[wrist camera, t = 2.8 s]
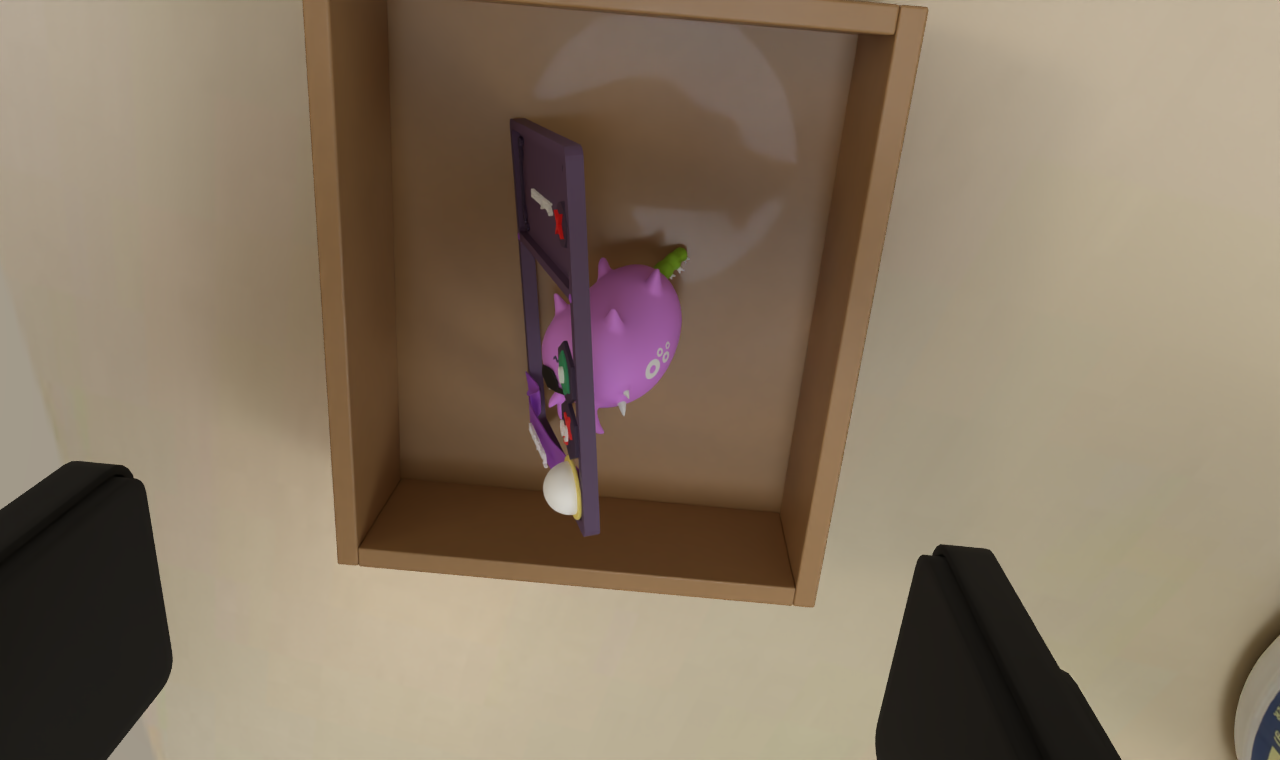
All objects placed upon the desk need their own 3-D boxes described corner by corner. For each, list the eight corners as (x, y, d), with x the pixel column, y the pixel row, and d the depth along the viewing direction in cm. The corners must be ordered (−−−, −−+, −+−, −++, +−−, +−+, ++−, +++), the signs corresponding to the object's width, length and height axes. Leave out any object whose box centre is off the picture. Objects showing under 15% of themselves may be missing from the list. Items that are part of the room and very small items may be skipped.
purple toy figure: (526, 149, 17) (553, 546, 20) (773, 135, 18) (759, 509, 21) (480, 119, 23) (507, 429, 26) (668, 110, 24) (670, 405, 27)
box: (385, 487, 28) (337, 565, 24) (366, -34, 22) (298, -48, 18) (794, 525, 28) (814, 608, 24) (883, 11, 22) (930, 7, 18)
